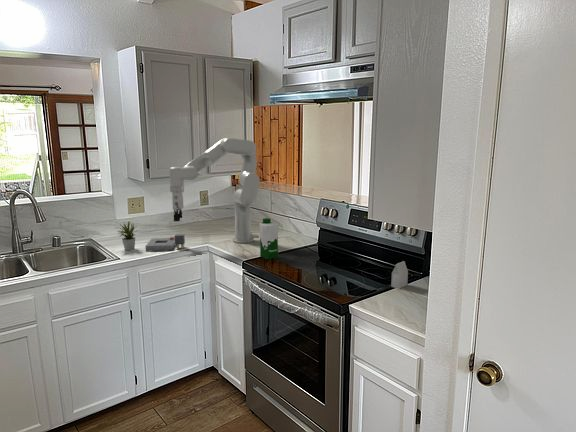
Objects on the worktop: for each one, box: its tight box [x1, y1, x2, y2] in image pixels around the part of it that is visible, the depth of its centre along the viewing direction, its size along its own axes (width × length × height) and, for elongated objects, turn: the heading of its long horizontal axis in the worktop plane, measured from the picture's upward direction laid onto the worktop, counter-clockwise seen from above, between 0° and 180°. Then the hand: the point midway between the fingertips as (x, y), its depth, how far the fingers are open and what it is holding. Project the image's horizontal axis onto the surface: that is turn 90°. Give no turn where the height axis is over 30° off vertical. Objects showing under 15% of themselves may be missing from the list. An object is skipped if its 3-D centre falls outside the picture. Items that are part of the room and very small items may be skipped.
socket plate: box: [145, 236, 176, 252], centre depth 247 cm, size 14×18×4 cm
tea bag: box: [390, 260, 409, 289], centre depth 180 cm, size 4×7×10 cm, turn 136°
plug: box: [174, 233, 186, 249], centre depth 244 cm, size 5×4×8 cm
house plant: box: [115, 220, 137, 251], centre depth 242 cm, size 14×14×16 cm
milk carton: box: [258, 217, 280, 260], centre depth 223 cm, size 9×9×20 cm
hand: (178, 219), depth 241 cm, fingers open, 9 cm apart
